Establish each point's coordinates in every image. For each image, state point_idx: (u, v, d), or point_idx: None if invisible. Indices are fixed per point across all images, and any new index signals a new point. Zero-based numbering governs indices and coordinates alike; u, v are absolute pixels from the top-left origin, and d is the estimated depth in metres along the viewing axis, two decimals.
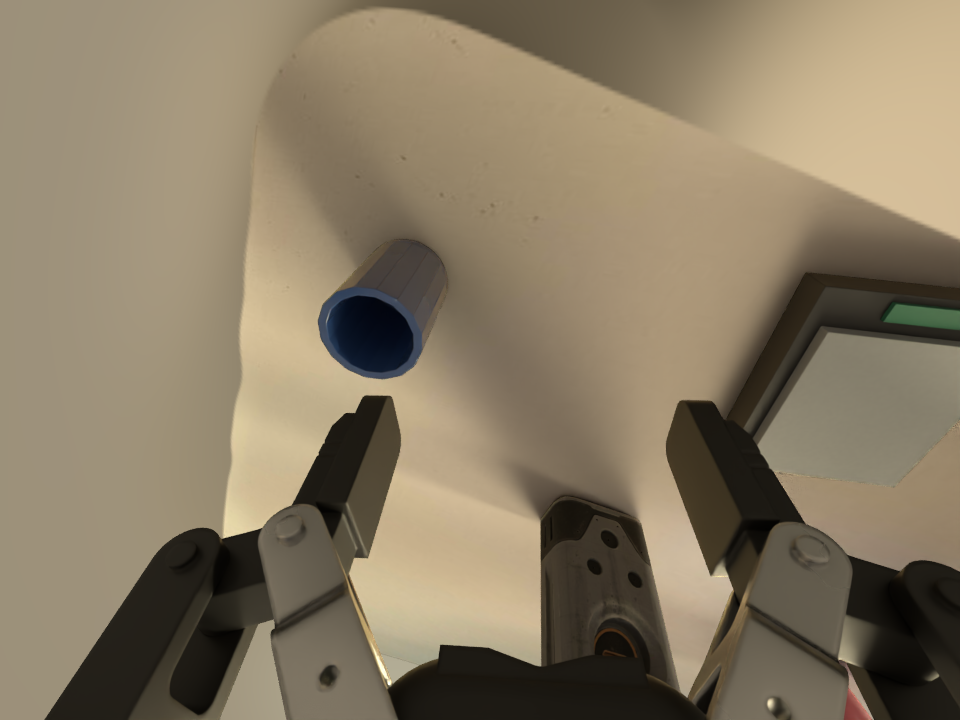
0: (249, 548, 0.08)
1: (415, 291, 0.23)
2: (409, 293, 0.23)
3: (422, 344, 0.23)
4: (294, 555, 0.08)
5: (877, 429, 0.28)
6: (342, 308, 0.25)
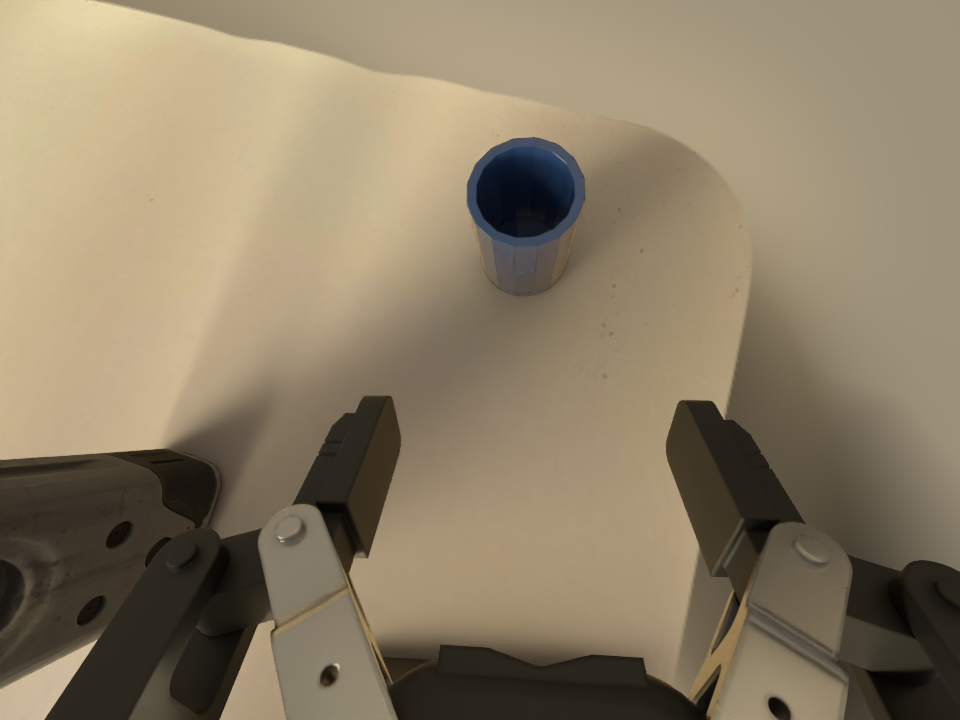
0: (249, 548, 0.08)
1: (563, 246, 0.22)
2: (568, 237, 0.21)
3: (521, 247, 0.20)
4: (294, 555, 0.08)
5: None
6: (529, 172, 0.23)
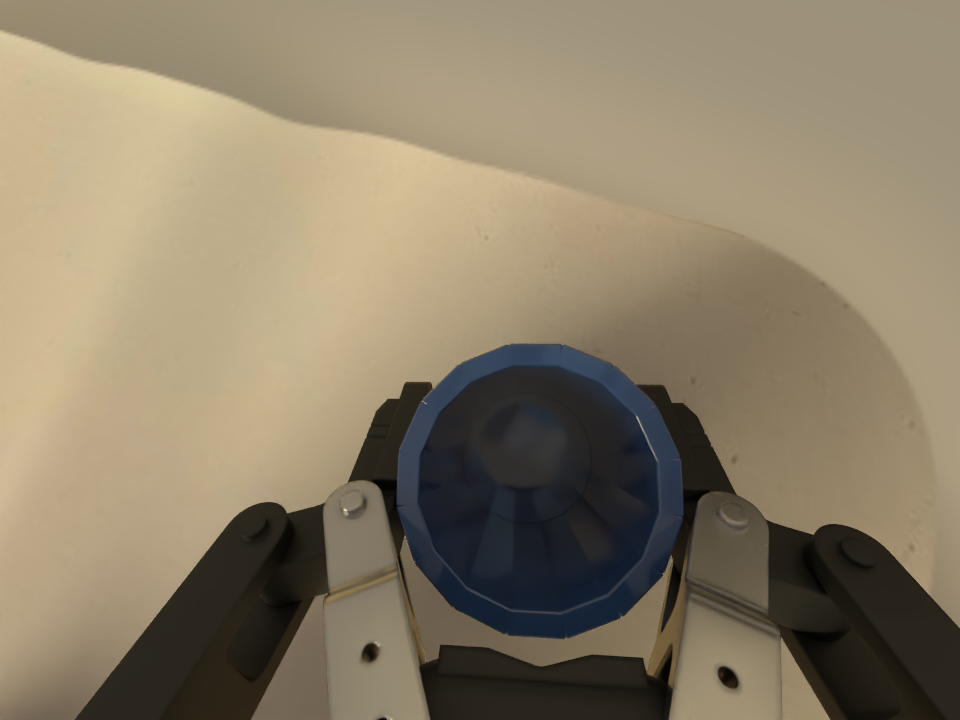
0: (311, 523, 0.09)
1: None
2: None
3: (524, 633, 0.08)
4: (359, 527, 0.08)
5: None
6: (542, 378, 0.11)
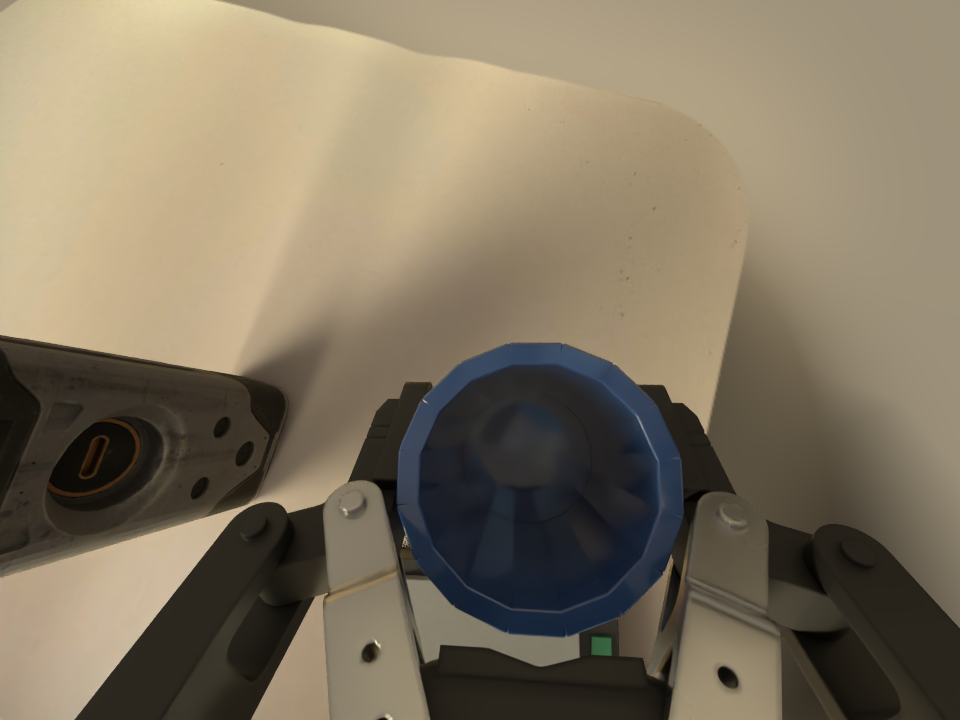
0: (311, 522, 0.09)
1: None
2: None
3: (525, 632, 0.08)
4: (360, 526, 0.08)
5: None
6: (542, 377, 0.11)
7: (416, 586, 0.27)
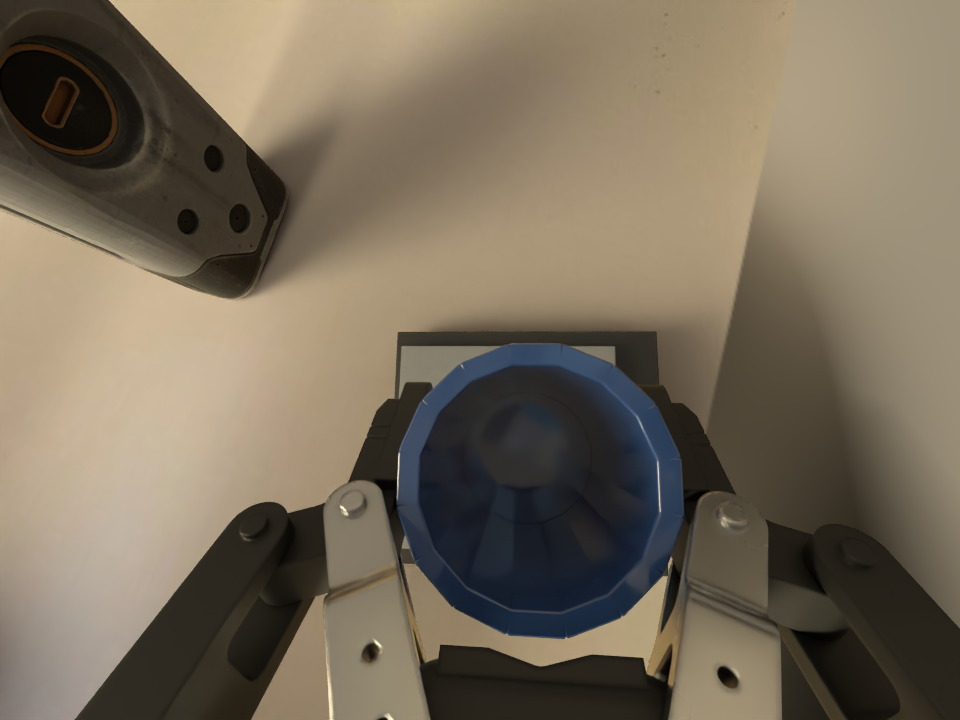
0: (311, 523, 0.09)
1: None
2: None
3: (524, 633, 0.08)
4: (360, 526, 0.08)
5: None
6: (542, 378, 0.11)
7: (432, 352, 0.24)
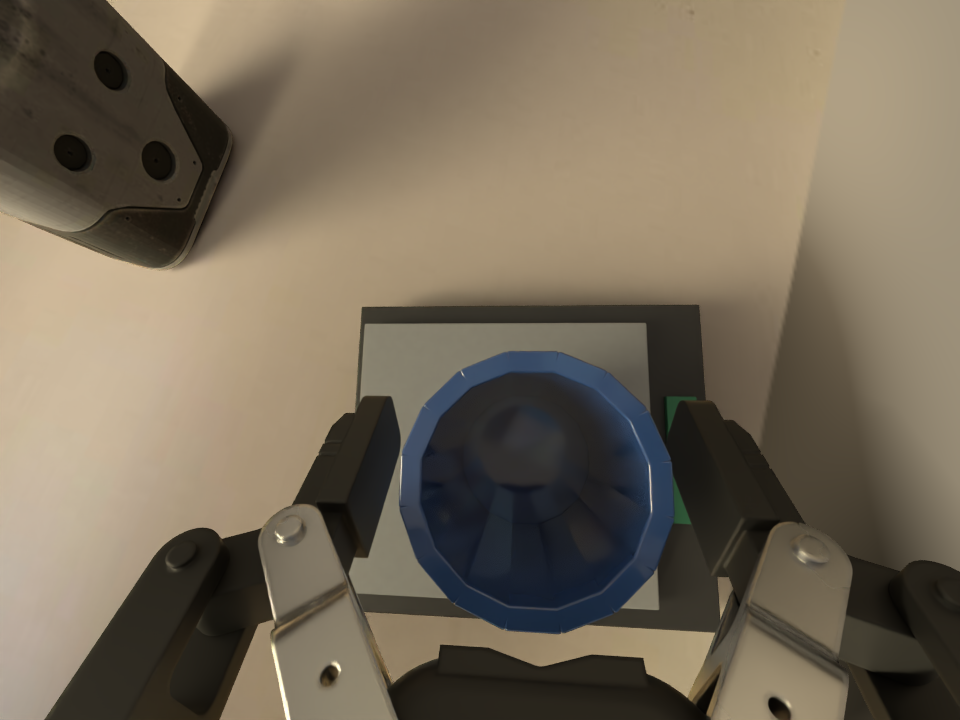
0: (249, 548, 0.08)
1: None
2: None
3: (522, 628, 0.09)
4: (294, 555, 0.08)
5: None
6: (540, 383, 0.11)
7: (404, 332, 0.18)
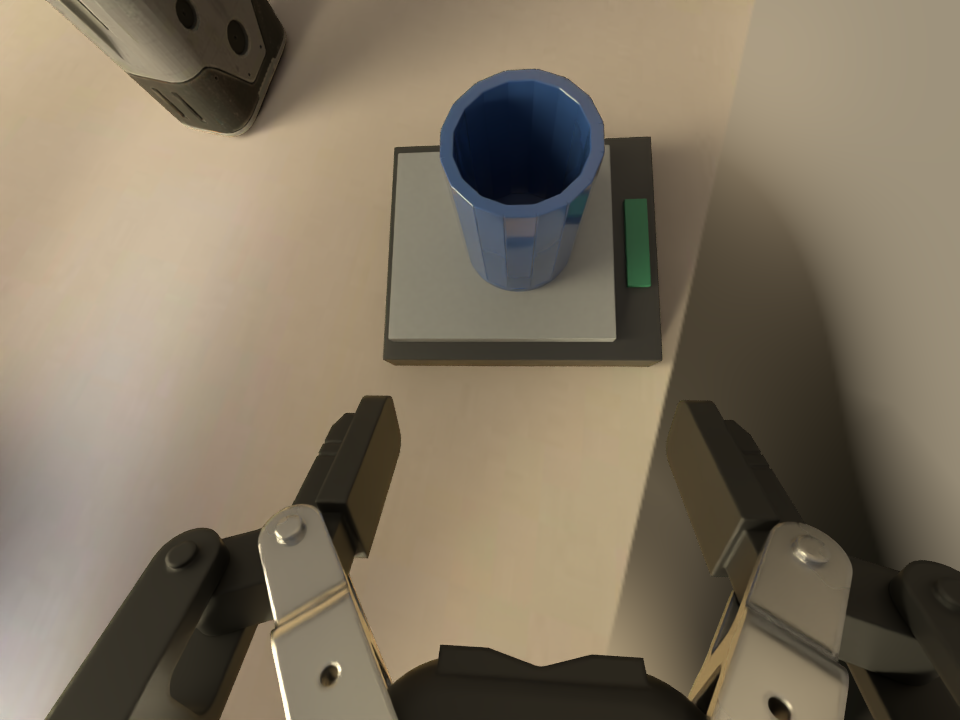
0: (249, 548, 0.08)
1: (572, 222, 0.16)
2: (579, 209, 0.15)
3: (514, 219, 0.14)
4: (294, 555, 0.08)
5: None
6: (527, 125, 0.17)
7: (428, 158, 0.24)
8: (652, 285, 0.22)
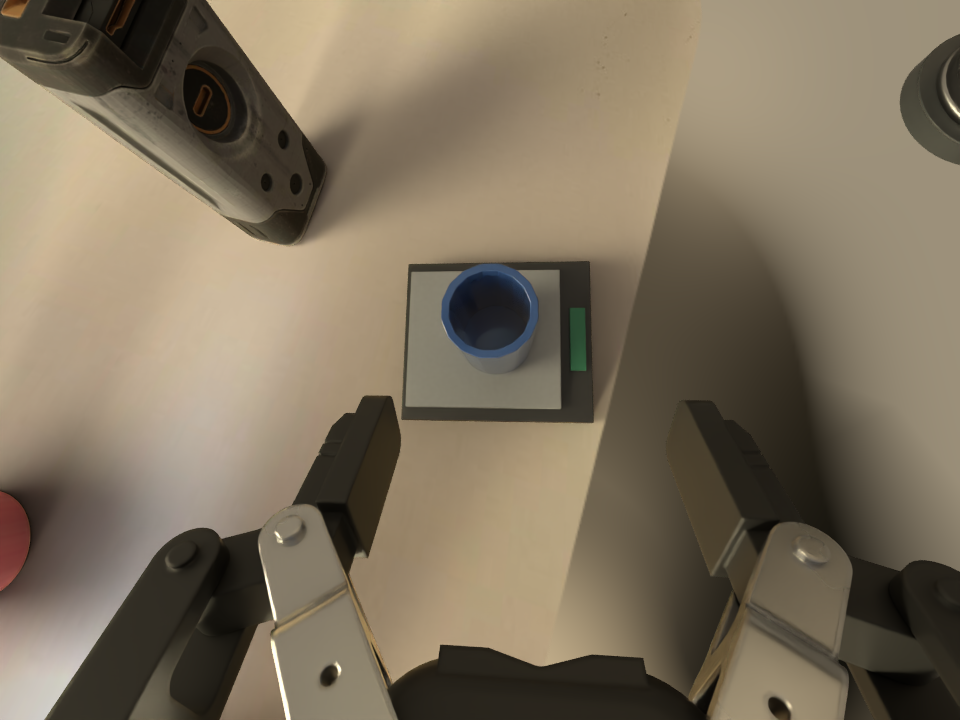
0: (249, 548, 0.08)
1: (523, 350, 0.26)
2: (525, 345, 0.25)
3: (485, 358, 0.24)
4: (294, 555, 0.08)
5: None
6: (496, 283, 0.27)
7: (432, 276, 0.34)
8: (587, 369, 0.32)
